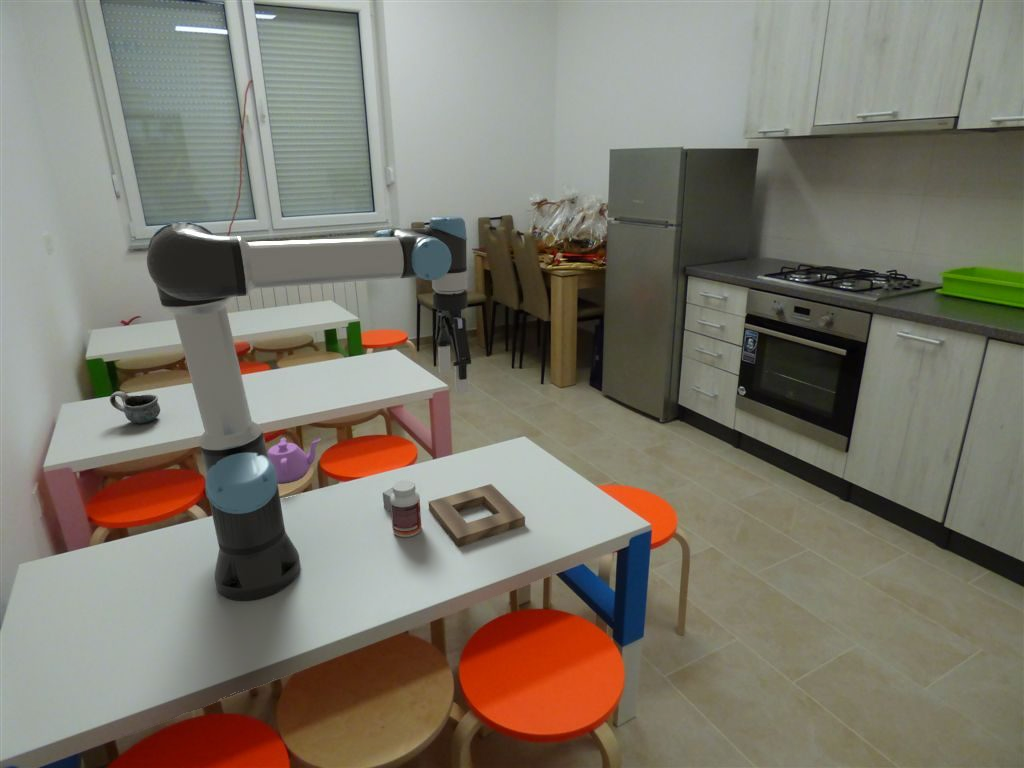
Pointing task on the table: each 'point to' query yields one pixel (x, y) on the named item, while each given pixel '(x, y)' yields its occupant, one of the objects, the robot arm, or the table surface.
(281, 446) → the teapot
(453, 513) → the socket board
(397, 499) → the pill bottle
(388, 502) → the grey eraser block
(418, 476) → the table surface
